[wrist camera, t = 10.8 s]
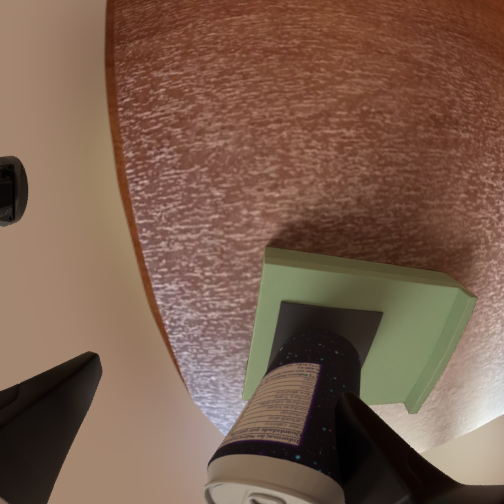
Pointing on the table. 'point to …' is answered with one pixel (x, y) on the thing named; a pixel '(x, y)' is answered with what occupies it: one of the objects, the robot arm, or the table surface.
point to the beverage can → (289, 428)
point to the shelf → (362, 319)
